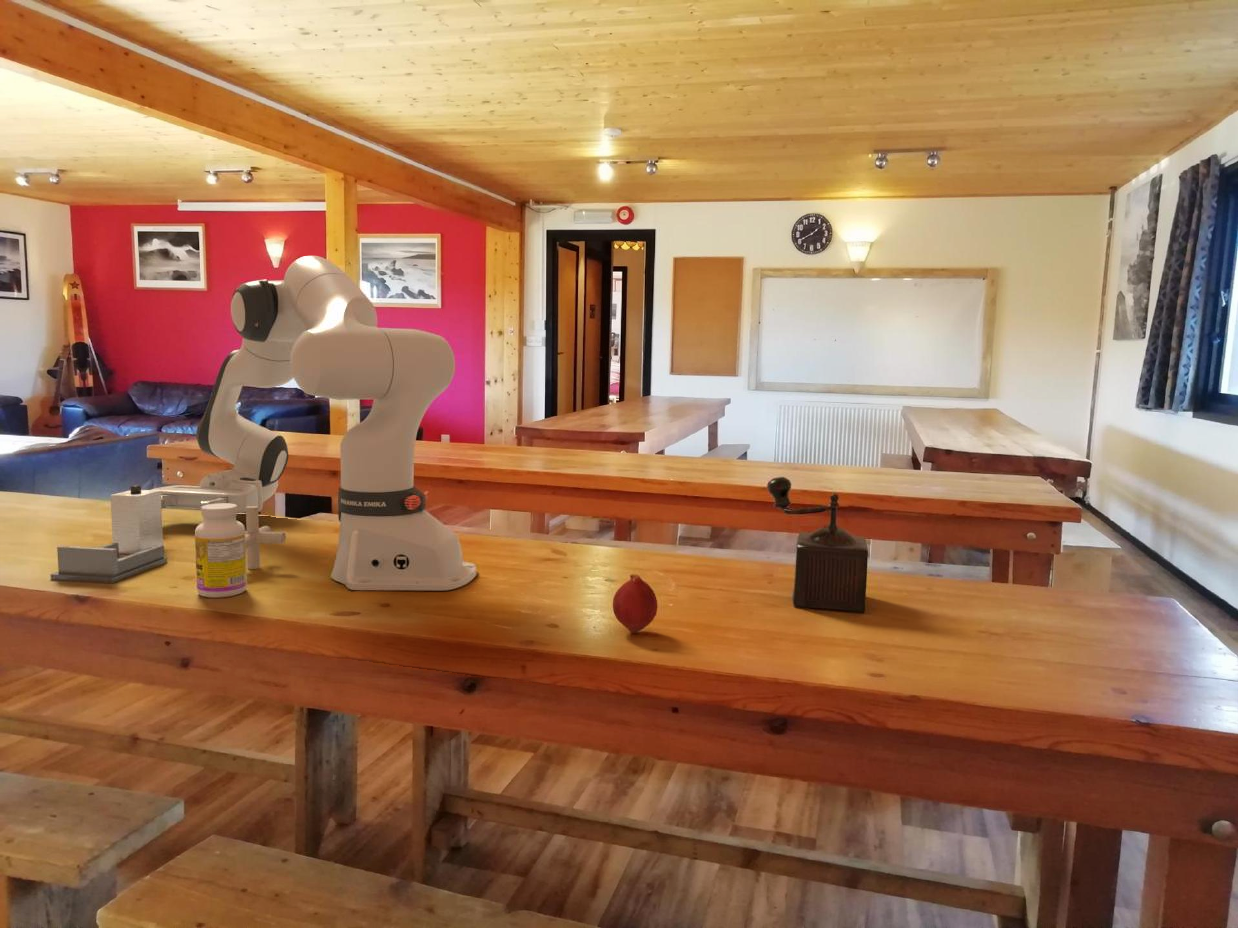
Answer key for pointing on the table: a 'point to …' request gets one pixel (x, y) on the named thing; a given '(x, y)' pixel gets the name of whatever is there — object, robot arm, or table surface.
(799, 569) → the manual coffee grinder
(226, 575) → the supplement bottle
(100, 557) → the tray
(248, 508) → the pipe connector
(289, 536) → the table surface
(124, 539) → the block
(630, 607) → the onion
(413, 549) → the robot arm
